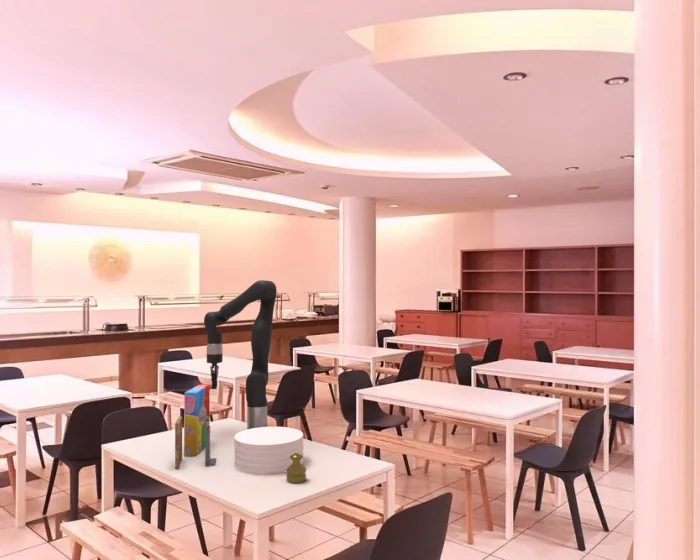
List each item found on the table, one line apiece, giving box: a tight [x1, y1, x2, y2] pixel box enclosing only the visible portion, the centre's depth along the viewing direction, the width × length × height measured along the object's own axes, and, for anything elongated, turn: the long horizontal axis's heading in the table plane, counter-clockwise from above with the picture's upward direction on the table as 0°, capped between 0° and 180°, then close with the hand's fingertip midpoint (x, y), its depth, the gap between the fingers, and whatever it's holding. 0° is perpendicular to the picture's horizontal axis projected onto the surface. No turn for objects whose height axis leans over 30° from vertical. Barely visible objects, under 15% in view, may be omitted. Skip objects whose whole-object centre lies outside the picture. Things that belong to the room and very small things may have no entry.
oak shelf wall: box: [174, 416, 183, 470], centre depth 227 cm, size 2×12×18 cm, turn 11°
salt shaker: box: [285, 453, 307, 484], centre depth 208 cm, size 7×7×10 cm
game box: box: [183, 384, 211, 457], centre depth 248 cm, size 21×6×27 cm, turn 179°
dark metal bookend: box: [204, 425, 217, 467], centre depth 229 cm, size 4×8×14 cm, turn 11°
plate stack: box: [233, 426, 304, 475], centre depth 229 cm, size 28×28×12 cm
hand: (214, 387), depth 270 cm, fingers open, 4 cm apart
